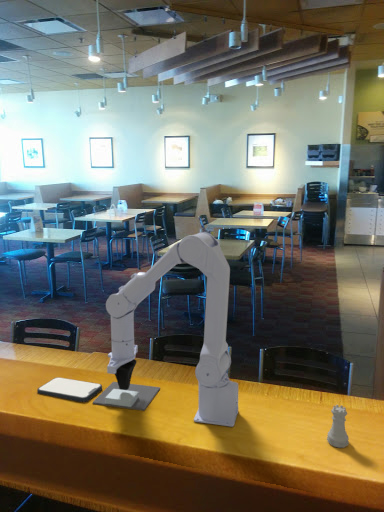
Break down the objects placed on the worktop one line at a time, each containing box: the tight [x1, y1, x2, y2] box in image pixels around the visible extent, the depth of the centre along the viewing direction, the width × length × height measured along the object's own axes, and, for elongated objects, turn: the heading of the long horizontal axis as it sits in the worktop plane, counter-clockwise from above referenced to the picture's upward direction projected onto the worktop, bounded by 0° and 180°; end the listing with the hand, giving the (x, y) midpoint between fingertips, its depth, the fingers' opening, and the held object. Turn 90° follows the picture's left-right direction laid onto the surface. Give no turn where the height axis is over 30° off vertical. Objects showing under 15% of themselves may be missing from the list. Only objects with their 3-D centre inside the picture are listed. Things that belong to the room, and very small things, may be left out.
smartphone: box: [37, 377, 103, 403], centre depth 112 cm, size 9×2×16 cm
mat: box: [92, 381, 161, 412], centre depth 109 cm, size 14×12×1 cm
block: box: [105, 389, 139, 407], centre depth 106 cm, size 7×2×5 cm
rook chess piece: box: [326, 404, 350, 449], centre depth 88 cm, size 4×4×8 cm
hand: (124, 388), depth 107 cm, fingers closed
